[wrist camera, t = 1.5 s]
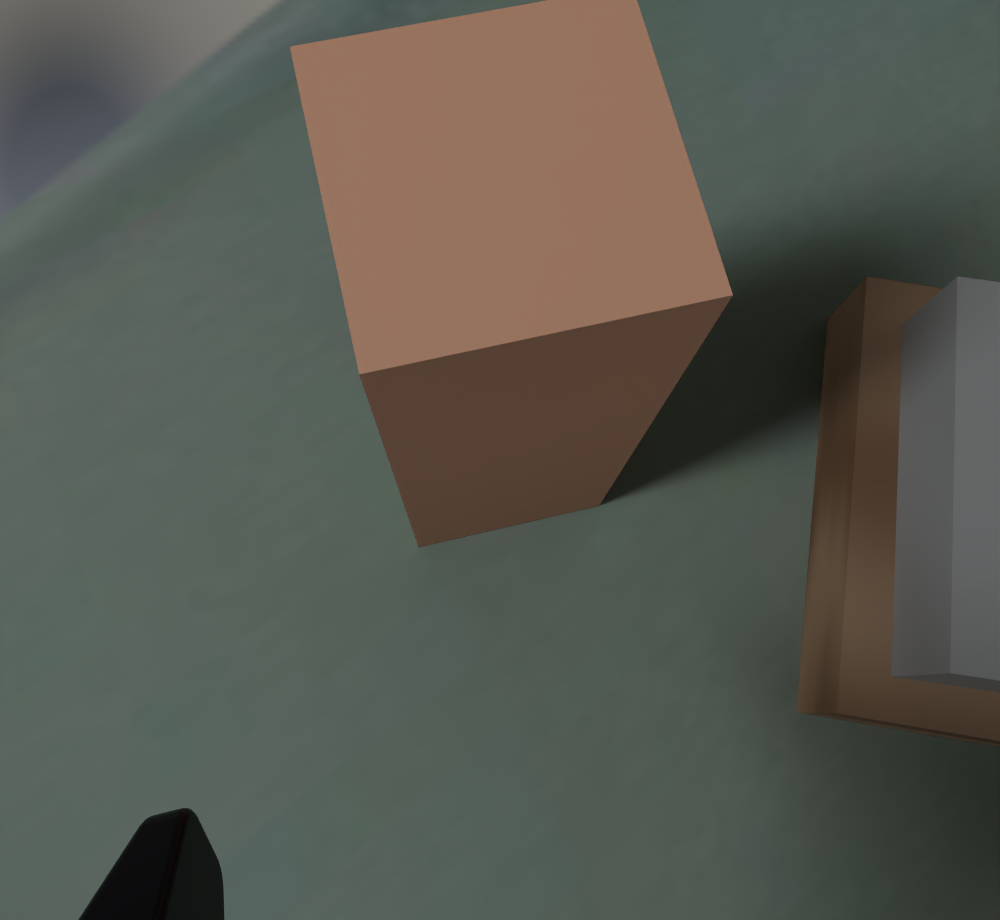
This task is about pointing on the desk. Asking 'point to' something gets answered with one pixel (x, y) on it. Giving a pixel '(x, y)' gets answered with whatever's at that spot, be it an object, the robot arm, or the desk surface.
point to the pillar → (510, 250)
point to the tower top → (949, 491)
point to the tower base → (868, 535)
